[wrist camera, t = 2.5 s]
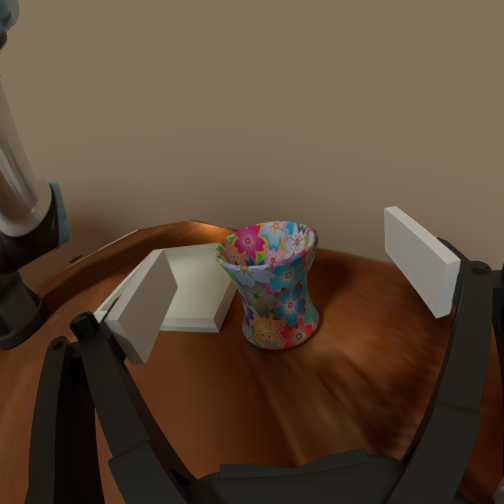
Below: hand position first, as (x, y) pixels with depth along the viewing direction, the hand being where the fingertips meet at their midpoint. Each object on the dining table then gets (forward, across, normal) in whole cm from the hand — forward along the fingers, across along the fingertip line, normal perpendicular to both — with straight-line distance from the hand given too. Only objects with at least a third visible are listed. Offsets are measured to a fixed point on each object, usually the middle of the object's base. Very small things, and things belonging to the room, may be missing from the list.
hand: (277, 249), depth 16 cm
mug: (+10, 0, -14) cm, 17 cm away
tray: (+21, -17, -14) cm, 30 cm away
